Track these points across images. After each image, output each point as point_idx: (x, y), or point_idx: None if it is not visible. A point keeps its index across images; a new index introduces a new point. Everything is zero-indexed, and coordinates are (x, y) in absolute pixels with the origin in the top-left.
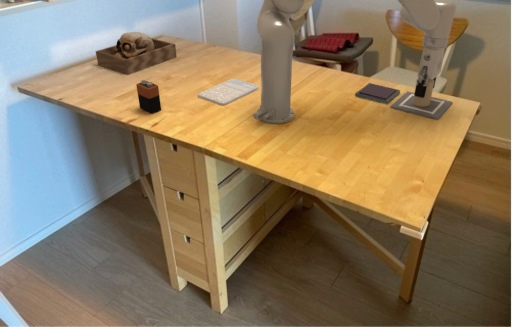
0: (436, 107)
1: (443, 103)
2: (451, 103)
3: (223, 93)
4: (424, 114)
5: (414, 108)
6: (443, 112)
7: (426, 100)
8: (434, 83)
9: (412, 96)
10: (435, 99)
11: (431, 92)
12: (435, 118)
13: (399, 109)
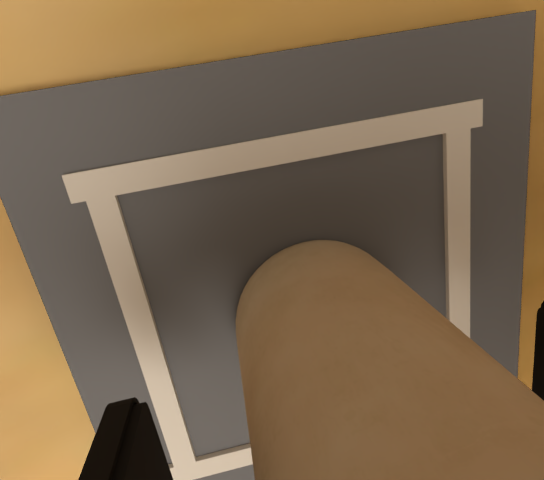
0: (303, 158)
1: (119, 163)
2: (24, 92)
3: None
4: (520, 165)
5: (462, 293)
6: (358, 38)
7: (396, 277)
8: (114, 472)
9: (210, 450)
10: (90, 282)
11: (384, 312)
12: (526, 43)
13: (511, 364)
